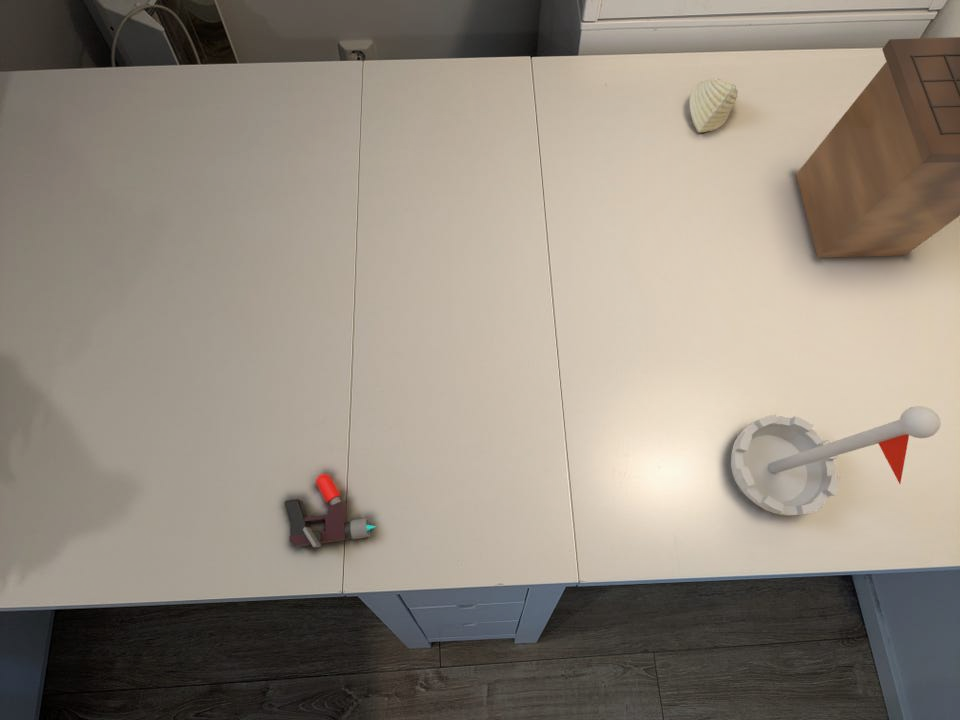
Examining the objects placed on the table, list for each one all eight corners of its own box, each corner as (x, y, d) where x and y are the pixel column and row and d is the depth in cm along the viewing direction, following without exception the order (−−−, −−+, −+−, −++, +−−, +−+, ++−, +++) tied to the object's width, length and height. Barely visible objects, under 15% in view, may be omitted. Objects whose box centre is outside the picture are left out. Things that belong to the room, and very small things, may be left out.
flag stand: (720, 419, 80) (847, 343, 52) (812, 427, 79) (992, 356, 51) (724, 511, 76) (865, 484, 47) (822, 522, 75) (1024, 500, 47)
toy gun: (379, 539, 75) (371, 538, 71) (290, 552, 75) (277, 552, 70) (373, 468, 78) (366, 462, 74) (288, 480, 78) (276, 475, 73)
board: (881, 168, 94) (1017, 34, 70) (912, 261, 88) (1071, 149, 64) (787, 171, 94) (890, 38, 70) (811, 264, 88) (932, 154, 64)
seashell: (745, 89, 97) (754, 102, 91) (709, 130, 103) (714, 145, 97) (710, 61, 96) (717, 72, 90) (675, 104, 101) (679, 118, 95)
